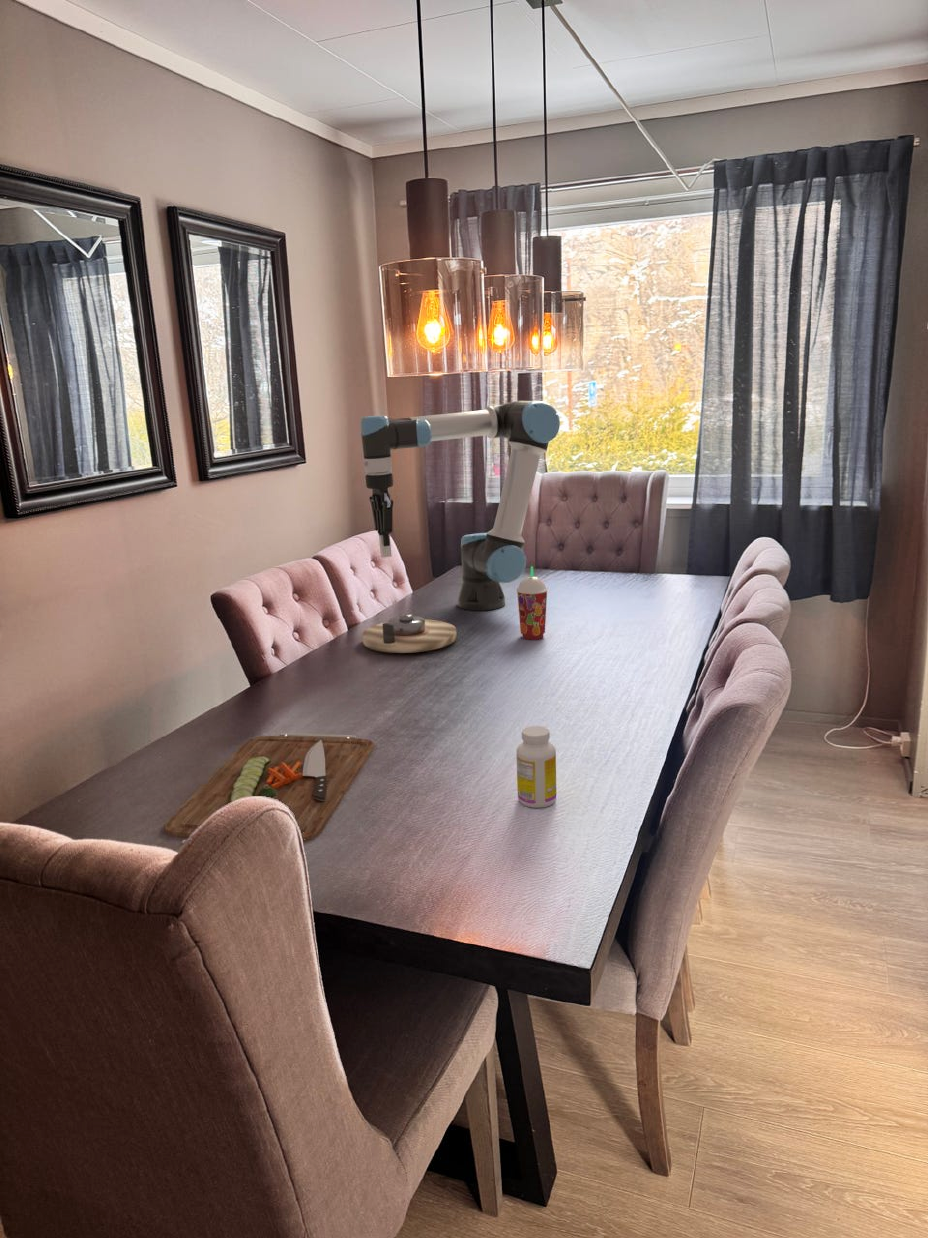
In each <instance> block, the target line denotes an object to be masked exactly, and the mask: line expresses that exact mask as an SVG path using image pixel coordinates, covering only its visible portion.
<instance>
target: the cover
mask: <svg viewBox="0 0 928 1238" xmlns="http://www.w3.org/2000/svg"><path fill="white" fill-rule="evenodd" d="M387 622H391V623H394V635H395V636H413V635H418V634H421V633H423V632H425V618H424V617H422V616H418V615H414V614H413V613H401V614H399V615H398V616H397V617H393V618H390V619H389V620H388V621H387Z"/></svg>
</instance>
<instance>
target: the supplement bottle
mask: <svg viewBox="0 0 928 1238" xmlns="http://www.w3.org/2000/svg"><path fill="white" fill-rule="evenodd" d="M550 737H551V736H550V729H549V728H548V727H544V726H540V725H530V726H526V727H524V728H523V729H522V730H521V740H522V742H521V743H519V744H518V745H517V748H516V755H515V756H516V778H517V779H516V780H517V798H518V799H517V800H518V801H519V803H521V805H522V806H525V807H528V808H534V809H535V808H536V809H537V808H538V809H539V808H546V807H547V808H548V807H550V806H552V805H553V804H554V803H555V802H556V801H557V752H556V747H555V745H554V744H553V743H552V742H551V741H549V740H550Z"/></svg>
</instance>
